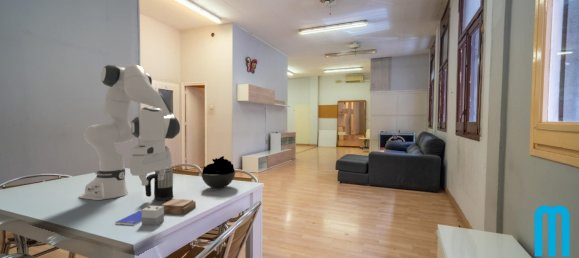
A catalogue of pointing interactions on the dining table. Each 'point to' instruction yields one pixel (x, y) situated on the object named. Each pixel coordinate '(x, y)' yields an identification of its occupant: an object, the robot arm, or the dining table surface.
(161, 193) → the milk frother
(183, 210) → the walnut stand
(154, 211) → the block
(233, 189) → the dining table surface
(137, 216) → the hard drive
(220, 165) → the coal bowl
